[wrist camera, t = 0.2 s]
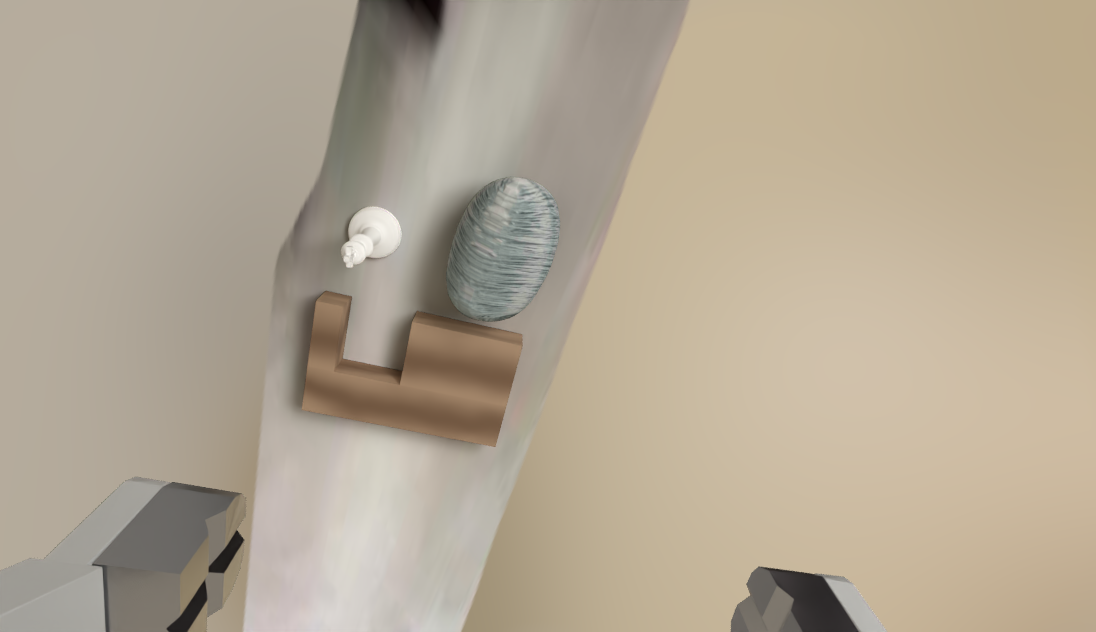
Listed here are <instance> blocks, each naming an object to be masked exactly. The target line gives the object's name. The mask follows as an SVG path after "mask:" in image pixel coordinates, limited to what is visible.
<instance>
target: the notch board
mask: <svg viewBox="0 0 1096 632" xmlns="http://www.w3.org/2000/svg"><path fill="white" fill-rule="evenodd" d="M351 300H352V297H351V296H347V295H342V294H338V293H333V292H329V291H325V292H324V293H323V294H322V295H321V296H320V297H319V298H318V299H317V300H316V304H315V312H314V320H313V327H312V335H311V342H310V350H309V358H308V365H307V373H306V381H305V388H304V396H303V404H302V410H305V411H311V412H316V413H321V414H326V415H331V416H337V417H342V418H347V419H352V420H357V421H363V422H368V423H373V424H378V425H384V426H389V427H394V428H399V429H404V430H410V431H415V432H420V433H425V434H431V435H436V436H441V437H446V438H451V439H457V440H462V441H467V442H472V443H477V444H483V445H488V446H493V447H495V446H496V443H497V439H498V435H499V431H500V428H501V424H502V420H503V417H504V413H505V409H506V405H507V402H508V398H509V394H510V391H511V387H512V383H513V379H514V376H515V372H516V368H517V365H518V361H519V357H520V354H521V350H522V346H523V345H522V334H518V333H514V332H509V331H505V330H500V329H496V328H491V327H487V326H482V325H478V324H473V323H469V322H464V321H460V320H455V319H451V318H446V317H441V316H437V315H432V314H428V313H423V312H419V311H417V312H416V315H415V317H414V319H413V321H412V325H411V330H410V335H409V340H408V345H407V351H406V356H405V361H404V366H403V371H399V370H395V369H390V368H385V367H380V366H375V365H370V364H366V363H361V362H356V361H351V360H346V359H343V352H344V346H345V339H346V333H347V326H348V320H349V313H350V307H351Z"/></svg>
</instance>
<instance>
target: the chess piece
mask: <svg viewBox="0 0 1096 632" xmlns="http://www.w3.org/2000/svg"><path fill="white" fill-rule="evenodd" d="M348 234H349V241H348V242H346V243H345V244H344V245H343V246H342V248H341V255H342V257H343V259H344V262H346V267H350V268H352V267H353V265H356V264H360V263H362V262H363V261H364V259H365V258H366V257H370V258H382V257H385V256H388V255H390V254H391V253H393V252H394V251H395V250H396V249H397V248H398V246H399V244H400V241H401V236H402V233H401V227H400V224H399V222H398V221H397V219H396V218H395V217H394V215H392V214H391V213H390V212H389V211H387V210H385V209H383V208H380V207H366V208H363V209H361V210H359V211H358V212H357V213H356V214H355V215H354V216H353V218H352V219H351V221H350V224H349V228H348Z"/></svg>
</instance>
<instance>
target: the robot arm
mask: <svg viewBox="0 0 1096 632" xmlns="http://www.w3.org/2000/svg"><path fill="white" fill-rule="evenodd" d="M245 516H246V498H245V496H244V495H243V494H242V493H236V492H230V491H223V490H218V489H212V488H206V487H200V486H194V485H187V484H181V483H175V482H172V483H170V482H165V481H159V480H153V479H147V478H141V477H134V478H132V479H129V480H126V481H125V482H123V483H122V484H121V485H120V486H119V487H118V488H117V489H116V490H115V491H114V492H113V493H112V494H111V495H110V496H108V497H107V498H106V499H105V500H104V501H103V502H102V503H101V504H100V505H99V506H98V507H97V508H96V509H95V510H94V511H93V512H92V513H91V514H90V515H89V516H88V517H87V518H86V519H85V520H83V522H81V523H80V524H79V525H78V526H77V527H76V528H75V529H74V530H73V531H72V532H71V533H70V534H69V535H68V536H67V537H66V538H65V539H64V540H63V541H62V542H61V543H59V544H58V545H57V546H56V547H55V548H54V549H53V550H52V551H51V552H50V553H49V554H48V555H47V556H46V557H45V558H44V559H33V558H29V559H27V560H24V561H22V562H20V563H17V564H15V565H13V566H11V567H8V568H5V569H3V570H1V571H0V632H206V630H207V629H206V628H207V617H209V616H210V615H212V614H213V613H215V612H216V611H218V610H220V609H221V608H222V607H223V606H224V604H225V602H226V600H227V599H228V597H229V595H230V593H231V591H232V589H233V587H234V584H235V581H236V579H237V576H238V573H239V571H240V567H241V563H242V558H243V553H244V539H243V537H242V536H241V535H240V534H239V532H238V531H237V528H238V527H239V526H240V524H241V522H242V521H243V519H244V518H245ZM747 587H748V590H749V592H750V596H749V597H748V598H746V599H745V600H743V601H742V602H740V603H739V604H738V605H737V607H736V609H735V612H734V615H733V618H732V620H731V632H887V631H886V629H885V628H884V626H883V625H882V624H881V622H880V621H879V619H878V618H877V617H876V615H875V614H874V613H873V611H872V610H871V608H870V607H869V605H868V604H867V603H866V601H865V600H864V598H863V597H862V596H861V594H860V593H859V591H858V590H857V588H856V587H855V586H854V584H853V583H851V582H850V581H849V580H848V579H846V578H845V577H841V576H832V575H824V574H810V573H804V572H797V571H796V572H795V571H789V570H781V569H774V568H767V567H758V568H757V569H755V570H754V571H753V572H752V573H751V576H750V578H749V580H748V582H747Z"/></svg>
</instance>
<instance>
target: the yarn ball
mask: <svg viewBox="0 0 1096 632" xmlns="http://www.w3.org/2000/svg"><path fill="white" fill-rule="evenodd" d="M559 231H560V218H559V212H558V207H557V204H556V202H555V200H554V198H553V197H552V195H551V194H550V193H549V192H548V191H547V190H546V189H545V188H544V187H543V186H542V185H540V184H538V183H536V182H534V181H532V180H529V179H524V178H518V177H506V178H502V179H498V180H496V181H494V182H491V183H490V184H488V185H486V186H485V187H484V188H483V189H482V190H480V191H479V192H478V193H477V194H476V195H475V196H474V198H473V199H472V200H471V202H470V203H469V205H468V207H467V208H466V210H465V212H464V214H463V216H462V218H461V220H460V222H459V224H458V227H457V230H456V234H455V236H454V239H453V242H452V246H451V251H450V255H449V259H448V267H447V272H446V281H447V290H448V295H449V297H450V299H451V301H452V303H453V304H454V306H455V307H456V308H457V309H458V310H459V311H460V312H461V313H462V314H464V315H465V316H467V317H469V318H472V319H475V320H480V321H487V322H492V321H500V320H505V319H508V318H510V317H513V316H515V315H516V314H518V313H519V312H521V311H522V310H523V309H524V308H525V307H526V306H527V305H528V304H529V303H530V302H531V301H532V299H533V298H534V297H535V295H536V294H537V292H538V290H539V289H540V287H541V285H542V283H543V281H544V279H545V278H546V276H547V274H548V272H549V269H550V267H551V264H552V261H553V258H554V255H555V251H556V248H557V244H558V238H559Z"/></svg>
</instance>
